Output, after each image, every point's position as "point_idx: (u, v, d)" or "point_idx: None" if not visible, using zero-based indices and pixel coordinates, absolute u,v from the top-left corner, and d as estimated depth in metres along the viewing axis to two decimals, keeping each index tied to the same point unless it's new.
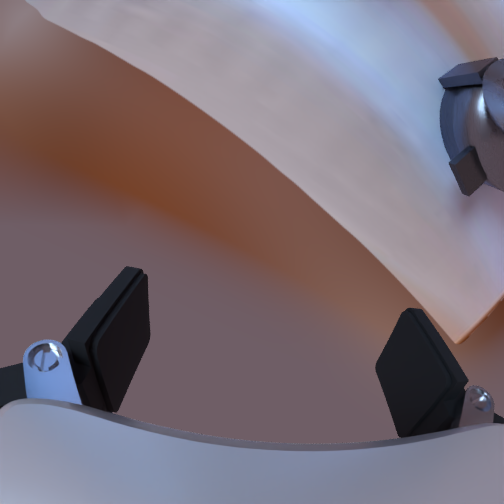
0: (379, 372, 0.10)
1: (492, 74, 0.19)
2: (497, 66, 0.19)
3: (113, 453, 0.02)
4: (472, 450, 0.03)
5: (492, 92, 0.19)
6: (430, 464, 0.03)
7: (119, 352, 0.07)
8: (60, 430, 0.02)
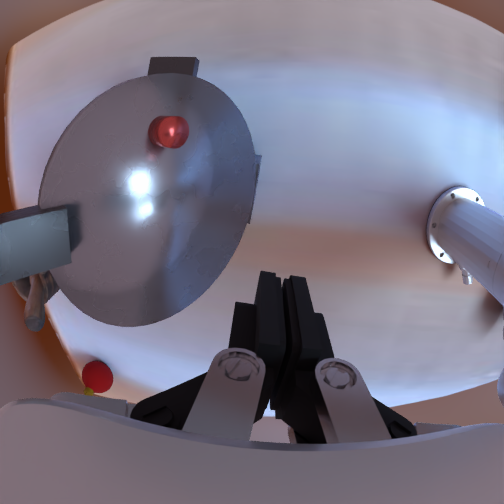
0: None
1: (248, 175, 0.25)
2: (246, 199, 0.26)
3: (113, 453, 0.02)
4: (472, 450, 0.03)
5: (240, 136, 0.22)
6: (431, 463, 0.03)
7: None
8: (62, 430, 0.02)
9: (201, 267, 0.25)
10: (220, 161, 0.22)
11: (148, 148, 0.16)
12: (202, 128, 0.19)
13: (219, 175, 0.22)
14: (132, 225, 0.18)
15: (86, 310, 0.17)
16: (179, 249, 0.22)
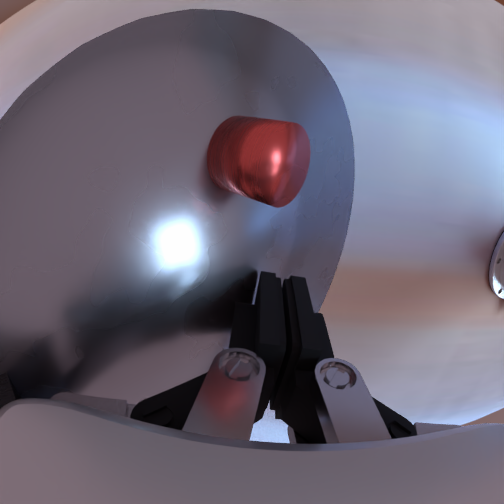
0: None
1: (343, 222, 0.16)
2: (335, 258, 0.17)
3: (113, 453, 0.02)
4: (472, 450, 0.03)
5: (344, 163, 0.13)
6: (430, 464, 0.03)
7: None
8: (61, 430, 0.02)
9: None
10: (319, 208, 0.12)
11: (206, 198, 0.07)
12: None
13: (313, 232, 0.13)
14: (173, 360, 0.08)
15: None
16: None
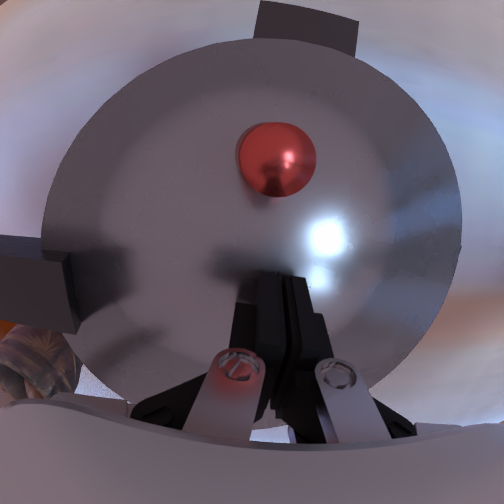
0: None
1: (443, 268, 0.12)
2: (430, 307, 0.13)
3: (113, 453, 0.02)
4: (472, 450, 0.03)
5: (441, 196, 0.10)
6: (430, 464, 0.03)
7: None
8: (61, 429, 0.02)
9: None
10: (397, 236, 0.11)
11: (235, 185, 0.09)
12: (366, 164, 0.09)
13: (390, 262, 0.11)
14: (194, 313, 0.11)
15: (112, 387, 0.12)
16: None
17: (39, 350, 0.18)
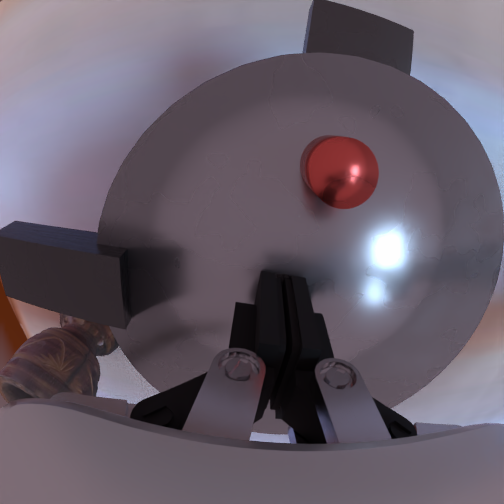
0: None
1: (484, 285, 0.11)
2: (469, 323, 0.12)
3: (113, 453, 0.02)
4: (472, 450, 0.03)
5: (486, 214, 0.09)
6: (430, 464, 0.03)
7: None
8: (61, 429, 0.02)
9: None
10: (445, 252, 0.10)
11: (298, 194, 0.09)
12: (420, 180, 0.09)
13: (436, 277, 0.11)
14: None
15: (153, 383, 0.13)
16: None
17: (54, 371, 0.16)
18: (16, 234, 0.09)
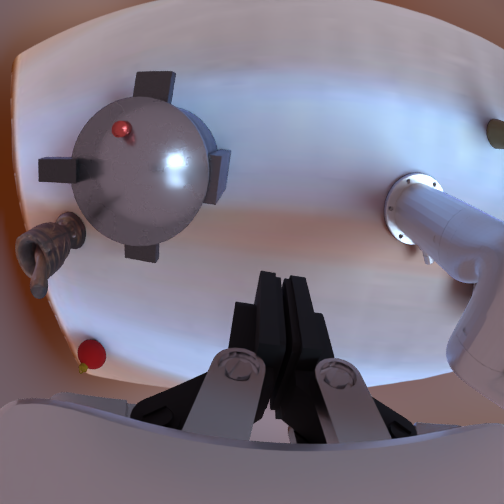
0: None
1: (198, 162, 0.32)
2: (199, 182, 0.33)
3: (113, 453, 0.02)
4: (472, 450, 0.03)
5: (185, 132, 0.30)
6: (430, 464, 0.03)
7: None
8: (61, 429, 0.02)
9: (156, 221, 0.35)
10: (168, 149, 0.31)
11: (117, 137, 0.30)
12: (151, 127, 0.30)
13: (167, 158, 0.31)
14: (108, 176, 0.32)
15: (83, 212, 0.34)
16: (137, 200, 0.33)
17: (47, 233, 0.37)
18: (47, 158, 0.30)
